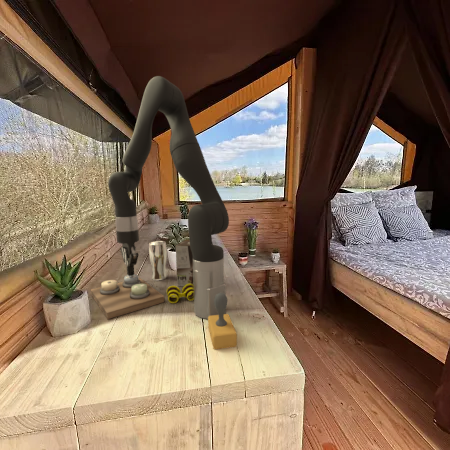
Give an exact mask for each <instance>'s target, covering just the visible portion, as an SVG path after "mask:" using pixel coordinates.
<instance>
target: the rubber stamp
mask: <svg viewBox="0 0 450 450" xmlns="http://www.w3.org/2000/svg"><path fill="white" fill-rule="evenodd" d="M214 305H215V308H216V310H217V312H218V315H212V316H209V317H208V319H207V325H208V327H207V328H208V332H209V336H210V340H211V345H212V348H213V349H214V350H220V349H228V348H236V347H237V345H238V344H237V343H238V342H237V341H238V340H237V338H238V337H237V331H236V329H235V326H234V324H233V321H232V319H231V317H230V315H229V314H228V313H226V314H224V312H225V310H226V311H227V306H228V296H227V294H226V295H225V294H224V293H218V294H217V295H216V296H215V299H214Z"/></svg>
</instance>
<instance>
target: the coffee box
mask: <svg viewBox="0 0 450 450" xmlns="http://www.w3.org/2000/svg"><path fill="white" fill-rule="evenodd" d="M175 263H176V264H175V266H176V286H177V287H184V286H185V285H186V284H193V255H192V251H191V248H190V240H183V241H181V242H179V243H178V244H176V245H175ZM193 285H194V284H193Z"/></svg>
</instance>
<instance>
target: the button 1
mask: <svg viewBox="0 0 450 450" xmlns="http://www.w3.org/2000/svg"><path fill="white" fill-rule="evenodd" d="M117 283H118V281H117V280H115V279H108V280H103V281H102V282H101V286H100V287H102V290H103V291H111V290H114V289H116V288H117Z"/></svg>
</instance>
